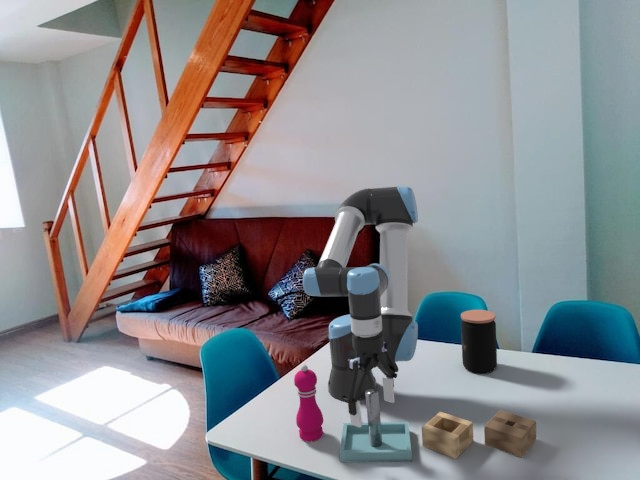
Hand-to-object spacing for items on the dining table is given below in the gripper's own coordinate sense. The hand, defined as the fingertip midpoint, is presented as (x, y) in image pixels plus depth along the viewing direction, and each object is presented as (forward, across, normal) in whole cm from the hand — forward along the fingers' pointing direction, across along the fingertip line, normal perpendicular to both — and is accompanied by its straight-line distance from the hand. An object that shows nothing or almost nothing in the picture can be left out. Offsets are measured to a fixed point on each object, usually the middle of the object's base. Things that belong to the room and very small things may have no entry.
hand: (373, 412), depth 123 cm
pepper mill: (+9, -6, +17) cm, 20 cm away
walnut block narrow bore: (+9, +20, -26) cm, 34 cm away
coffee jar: (+9, +54, -2) cm, 55 cm away
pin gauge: (+8, 0, 0) cm, 8 cm away
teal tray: (+9, 0, 0) cm, 9 cm away
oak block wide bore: (+9, +11, -14) cm, 20 cm away
